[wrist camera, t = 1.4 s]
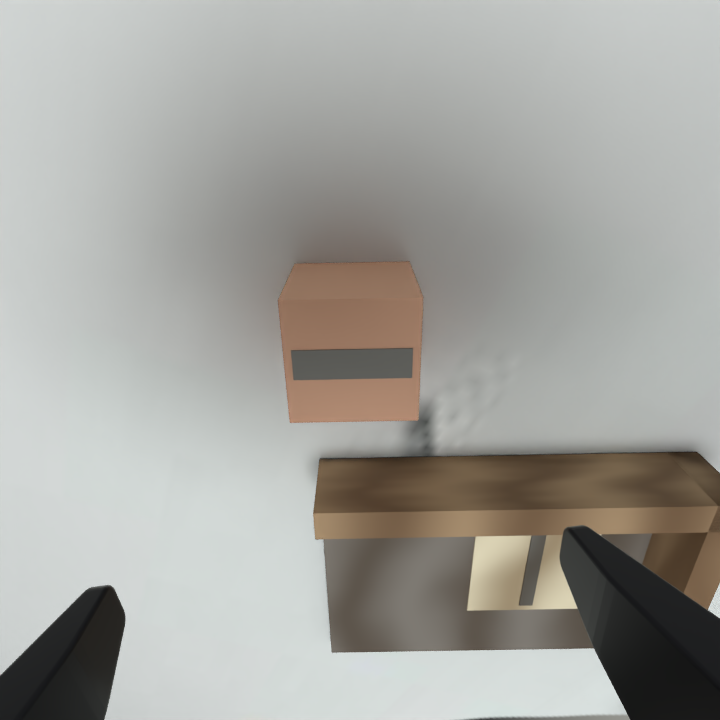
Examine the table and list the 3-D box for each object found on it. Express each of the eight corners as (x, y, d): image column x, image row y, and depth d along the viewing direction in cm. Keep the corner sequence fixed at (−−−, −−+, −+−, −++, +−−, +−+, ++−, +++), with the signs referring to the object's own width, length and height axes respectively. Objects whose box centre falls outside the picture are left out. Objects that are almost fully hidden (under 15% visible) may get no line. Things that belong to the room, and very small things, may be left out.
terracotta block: (409, 261, 21) (423, 297, 16) (406, 363, 23) (418, 421, 19) (294, 263, 21) (277, 300, 16) (303, 365, 23) (289, 423, 19)
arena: (697, 452, 25) (753, 505, 22) (632, 635, 32) (667, 700, 28) (319, 458, 25) (313, 513, 22) (332, 640, 32) (329, 705, 28)
